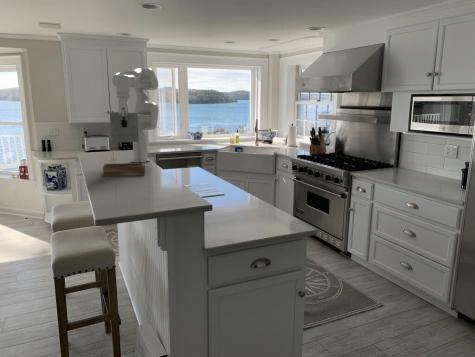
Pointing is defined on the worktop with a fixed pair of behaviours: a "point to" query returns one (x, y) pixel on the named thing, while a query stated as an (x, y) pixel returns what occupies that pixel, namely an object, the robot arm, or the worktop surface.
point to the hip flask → (124, 128)
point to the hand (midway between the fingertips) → (124, 126)
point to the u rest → (123, 169)
